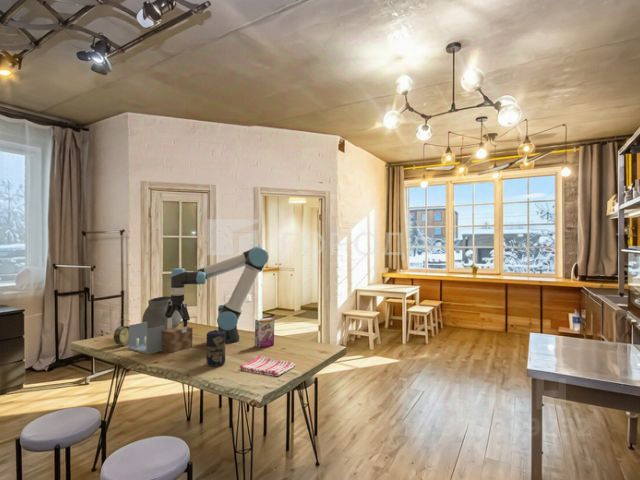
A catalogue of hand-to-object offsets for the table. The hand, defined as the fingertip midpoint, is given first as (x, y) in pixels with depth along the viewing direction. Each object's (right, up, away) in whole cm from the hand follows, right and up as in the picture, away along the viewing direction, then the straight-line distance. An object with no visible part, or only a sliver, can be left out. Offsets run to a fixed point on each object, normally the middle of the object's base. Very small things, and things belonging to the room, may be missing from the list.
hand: (176, 330), depth 218 cm
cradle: (-18, -11, 0) cm, 21 cm away
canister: (+31, -11, -27) cm, 42 cm away
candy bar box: (+51, -12, +8) cm, 53 cm away
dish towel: (+58, -12, -32) cm, 67 cm away
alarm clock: (-36, -11, +7) cm, 38 cm away
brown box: (0, -11, 0) cm, 11 cm away
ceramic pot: (-24, -11, +35) cm, 44 cm away
